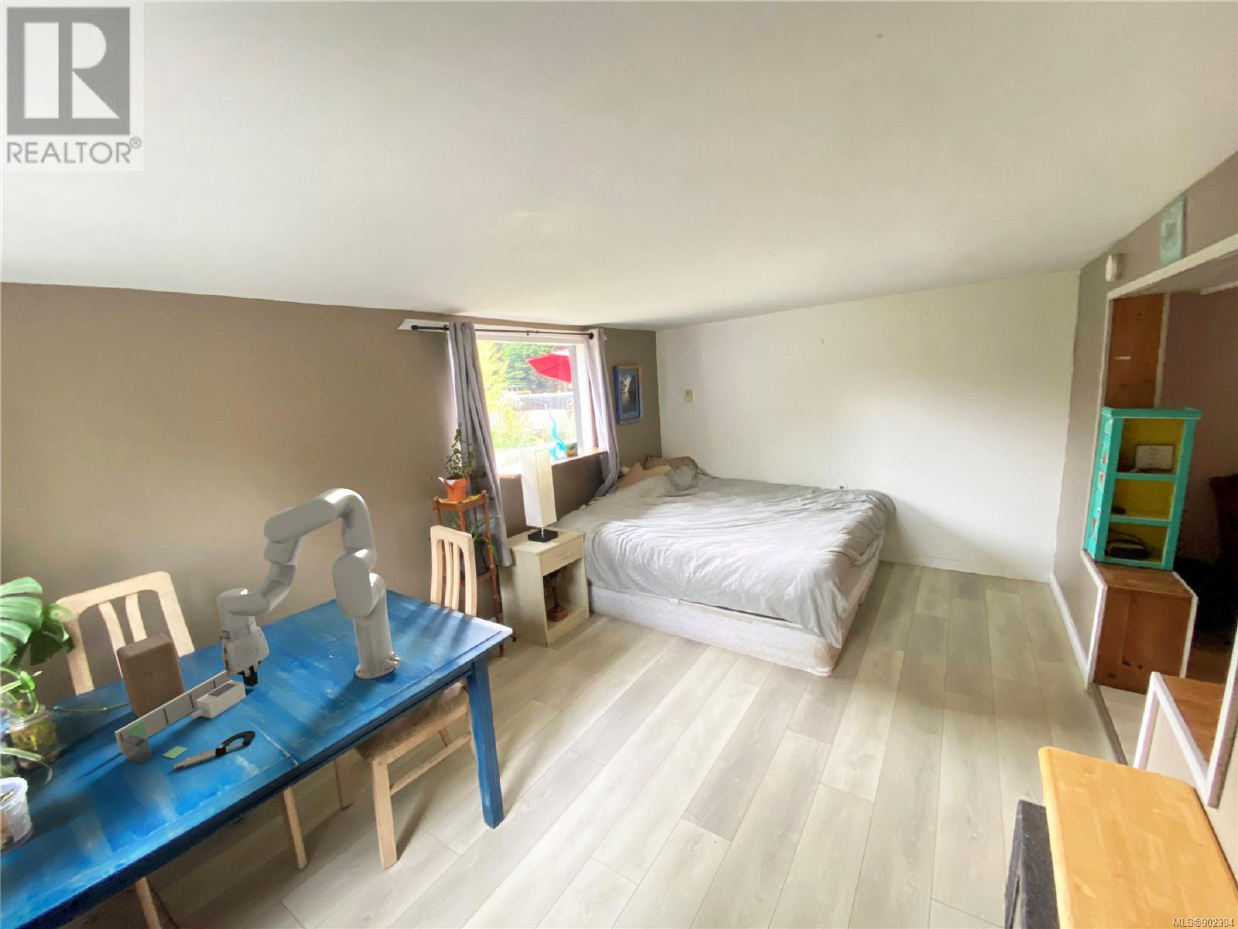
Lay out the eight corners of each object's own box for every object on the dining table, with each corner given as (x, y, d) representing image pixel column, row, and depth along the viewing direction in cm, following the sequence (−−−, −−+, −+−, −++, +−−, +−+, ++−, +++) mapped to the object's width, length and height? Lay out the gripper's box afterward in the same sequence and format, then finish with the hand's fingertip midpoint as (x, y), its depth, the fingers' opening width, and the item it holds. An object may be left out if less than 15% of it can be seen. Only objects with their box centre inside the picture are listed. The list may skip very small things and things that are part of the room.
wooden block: (141, 723, 125) (123, 658, 122) (131, 710, 130) (114, 648, 127) (188, 701, 133) (173, 640, 130) (177, 690, 139) (163, 631, 135)
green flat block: (187, 749, 115) (187, 749, 115) (173, 759, 112) (173, 758, 112) (177, 746, 116) (176, 746, 116) (162, 756, 113) (162, 755, 113)
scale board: (232, 688, 139) (228, 670, 138) (123, 753, 115) (117, 733, 114) (229, 687, 139) (225, 670, 138) (120, 752, 115) (114, 732, 114)
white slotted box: (246, 697, 134) (243, 681, 134) (199, 727, 123) (195, 710, 122) (234, 694, 136) (230, 679, 135) (187, 723, 125) (183, 707, 124)
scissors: (258, 728, 122) (256, 720, 121) (253, 746, 116) (251, 738, 115) (184, 753, 115) (182, 744, 114) (174, 773, 108) (172, 764, 108)
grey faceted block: (152, 757, 113) (147, 737, 112) (142, 764, 111) (136, 743, 110) (136, 753, 115) (131, 733, 114) (126, 759, 113) (120, 739, 112)
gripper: (221, 645, 127) (234, 703, 130) (274, 618, 141) (284, 671, 144) (202, 642, 129) (215, 699, 132) (257, 616, 143) (267, 668, 146)
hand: (251, 684), depth 138 cm, fingers closed
